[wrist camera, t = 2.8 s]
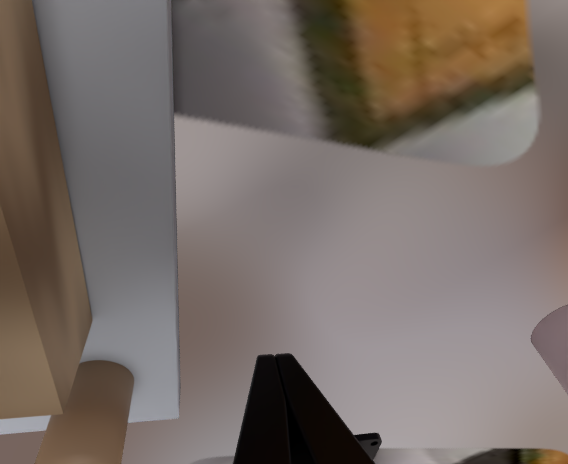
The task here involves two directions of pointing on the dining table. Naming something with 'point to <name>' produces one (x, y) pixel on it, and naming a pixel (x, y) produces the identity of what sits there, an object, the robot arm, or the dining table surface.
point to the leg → (35, 235)
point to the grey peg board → (115, 218)
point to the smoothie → (554, 343)
